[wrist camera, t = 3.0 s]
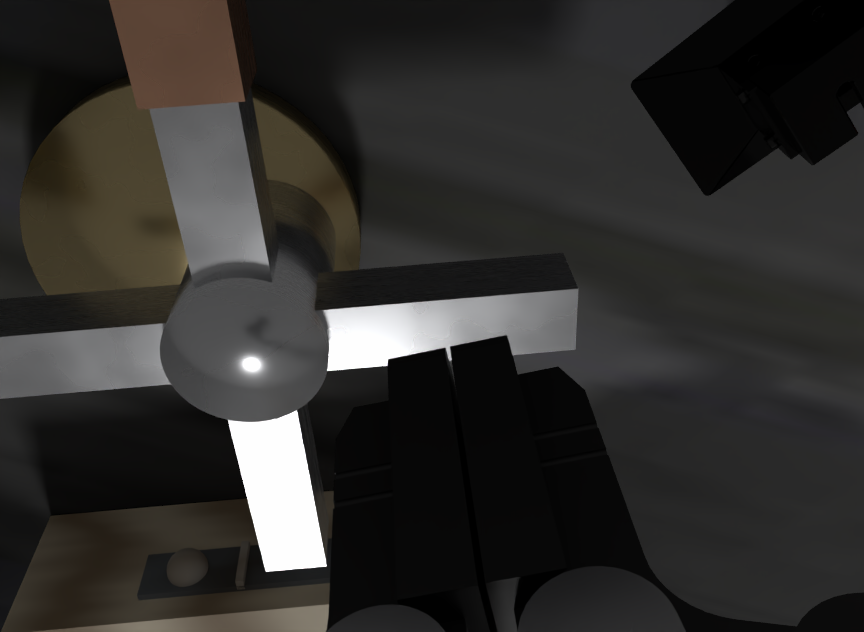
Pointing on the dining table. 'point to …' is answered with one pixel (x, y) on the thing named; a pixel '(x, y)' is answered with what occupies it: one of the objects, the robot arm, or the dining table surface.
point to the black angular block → (759, 86)
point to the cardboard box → (166, 575)
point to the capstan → (232, 262)
